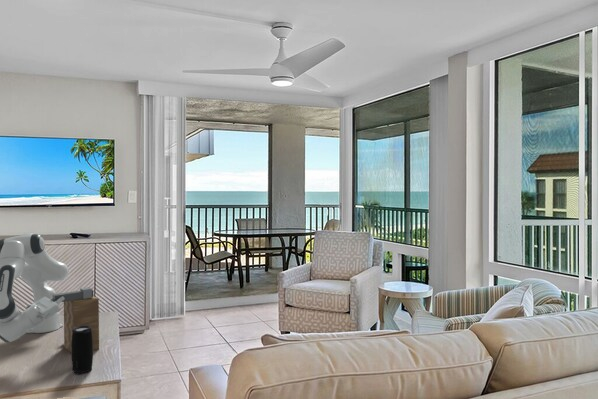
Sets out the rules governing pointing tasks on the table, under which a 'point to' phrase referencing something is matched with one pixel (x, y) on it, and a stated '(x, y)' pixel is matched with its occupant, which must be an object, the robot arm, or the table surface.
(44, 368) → the table surface
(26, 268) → the robot arm
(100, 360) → the table surface
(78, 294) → the dark grey square bar
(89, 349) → the portable speaker
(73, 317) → the panel block
